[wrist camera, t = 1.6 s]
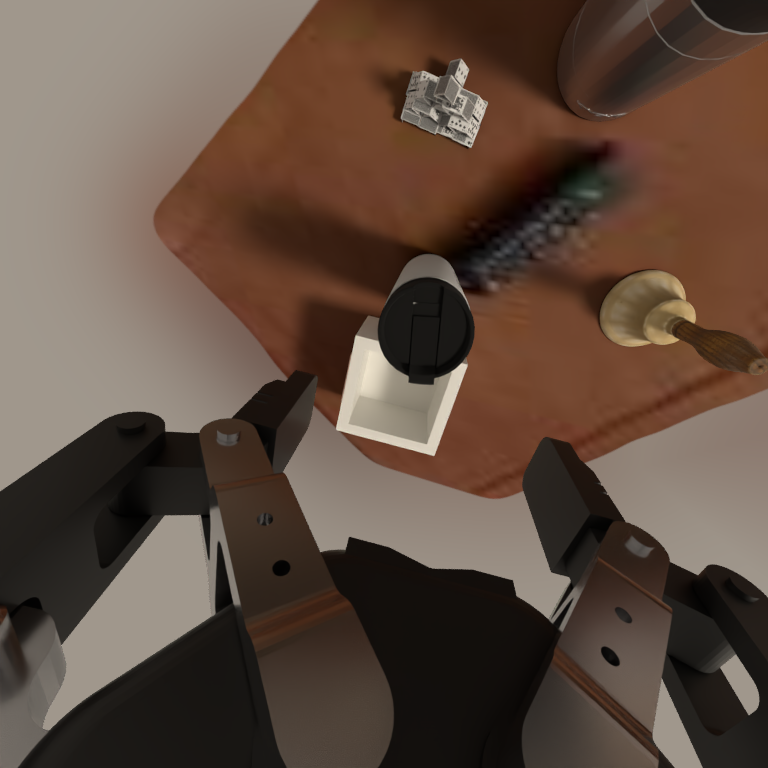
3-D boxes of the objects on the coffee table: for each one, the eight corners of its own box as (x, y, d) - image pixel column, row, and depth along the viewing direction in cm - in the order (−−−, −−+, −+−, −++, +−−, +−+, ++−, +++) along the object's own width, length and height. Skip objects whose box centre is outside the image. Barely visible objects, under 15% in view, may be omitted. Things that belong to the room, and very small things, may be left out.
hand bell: (670, 346, 40) (803, 418, 26) (591, 345, 41) (678, 414, 27) (695, 269, 37) (866, 303, 22) (609, 269, 38) (719, 302, 23)
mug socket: (365, 314, 43) (352, 334, 35) (461, 339, 43) (467, 364, 35) (348, 397, 48) (333, 429, 40) (433, 419, 48) (434, 455, 40)
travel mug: (397, 312, 42) (373, 382, 24) (401, 252, 39) (376, 281, 21) (452, 315, 42) (468, 390, 24) (459, 255, 39) (484, 287, 21)
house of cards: (531, 49, 31) (560, 1, 25) (484, 159, 35) (498, 144, 28) (436, 6, 31) (438, -55, 24) (399, 122, 35) (391, 98, 28)
